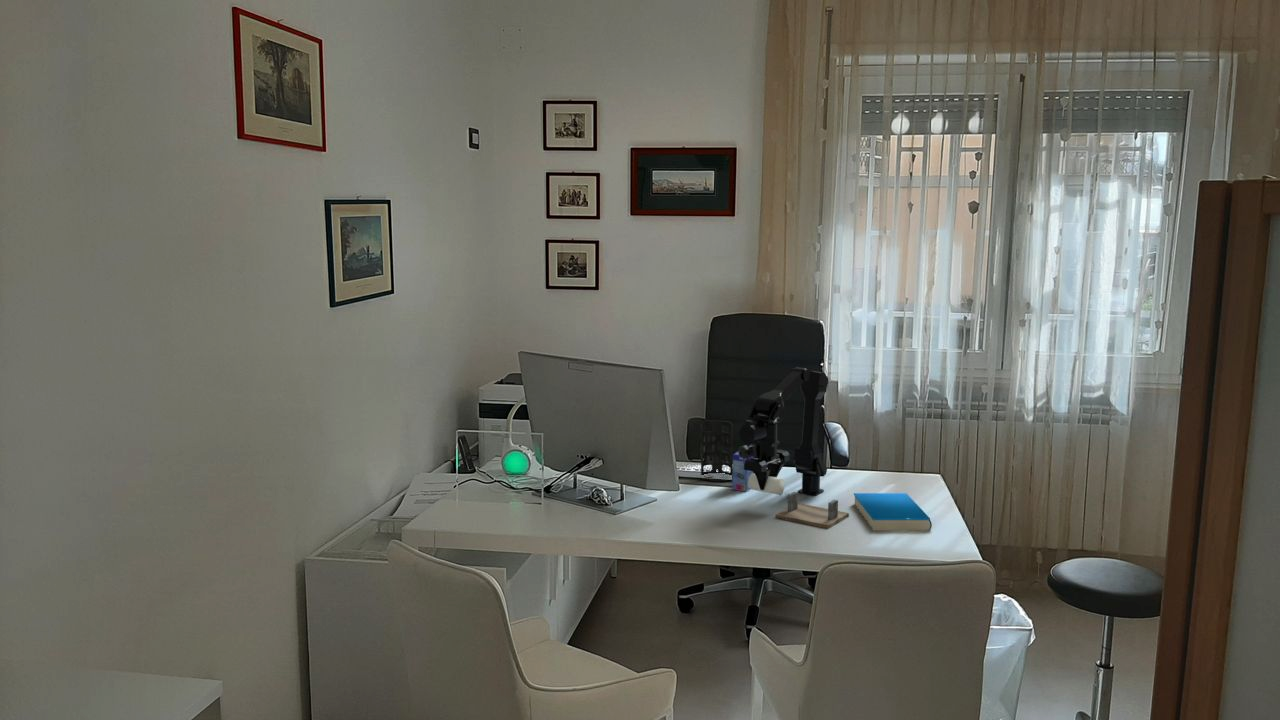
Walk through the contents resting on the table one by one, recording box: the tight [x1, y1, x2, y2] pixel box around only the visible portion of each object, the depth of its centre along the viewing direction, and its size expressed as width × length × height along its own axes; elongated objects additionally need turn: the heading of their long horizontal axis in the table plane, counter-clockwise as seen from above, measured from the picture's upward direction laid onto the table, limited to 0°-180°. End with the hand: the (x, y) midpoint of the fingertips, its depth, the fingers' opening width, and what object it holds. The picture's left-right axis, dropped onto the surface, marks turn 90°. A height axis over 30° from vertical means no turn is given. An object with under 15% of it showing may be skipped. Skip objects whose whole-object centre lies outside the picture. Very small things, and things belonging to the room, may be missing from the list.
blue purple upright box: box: [731, 444, 759, 493], centre depth 311 cm, size 10×6×14 cm, turn 152°
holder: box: [699, 420, 733, 483], centre depth 321 cm, size 11×8×20 cm
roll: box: [748, 473, 786, 496], centre depth 288 cm, size 5×10×5 cm, turn 53°
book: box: [853, 492, 933, 531], centre depth 282 cm, size 17×4×25 cm
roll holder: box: [775, 491, 850, 530], centre depth 281 cm, size 14×17×6 cm
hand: (766, 487), depth 288 cm, fingers closed on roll, 5 cm apart
